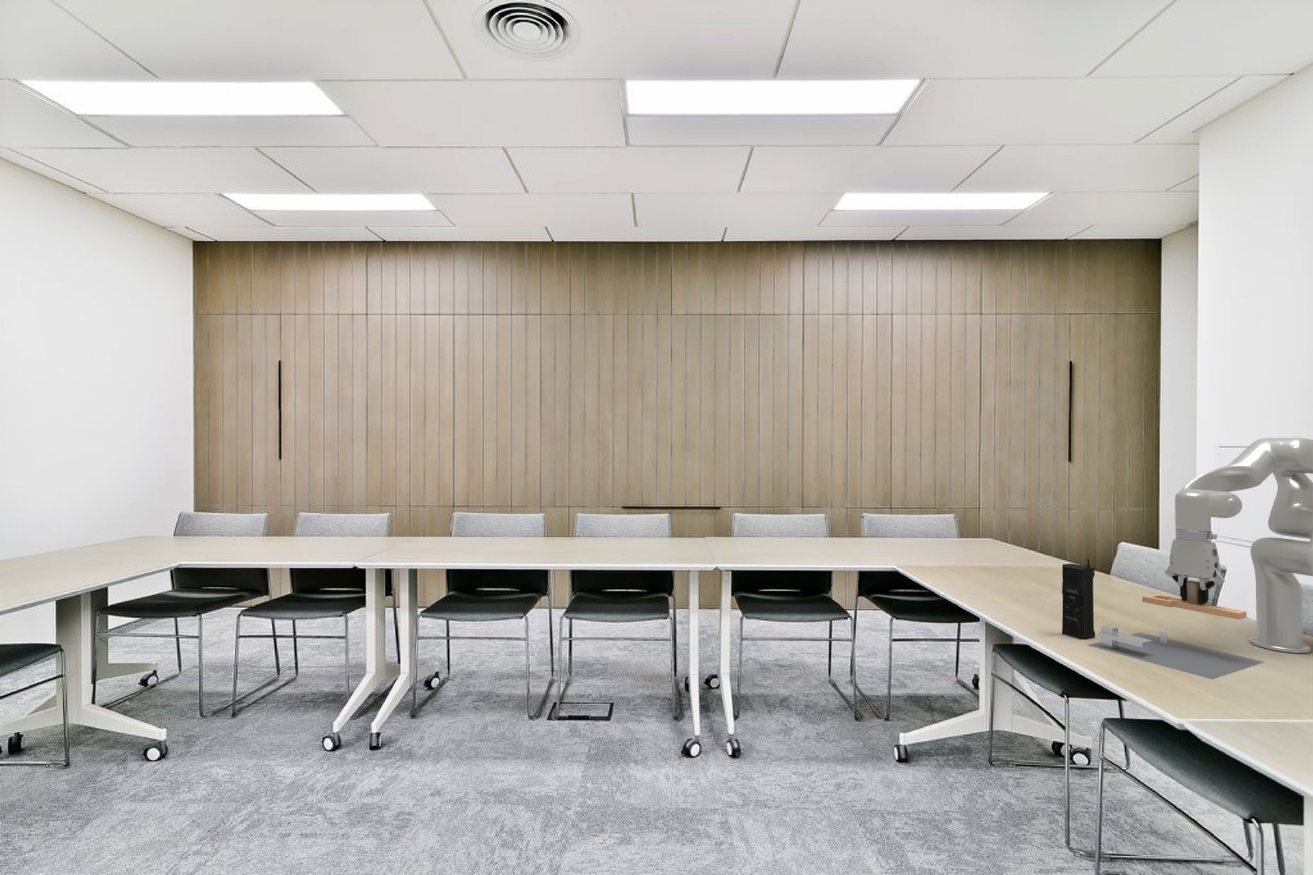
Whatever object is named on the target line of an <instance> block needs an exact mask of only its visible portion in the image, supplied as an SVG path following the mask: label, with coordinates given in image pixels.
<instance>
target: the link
mask: <svg viewBox="0 0 1313 875" xmlns="http://www.w3.org/2000/svg"><path fill="white" fill-rule="evenodd" d="M1186 588H1187V601H1182V597H1181V598H1180V597H1176V596H1169V595H1165V594H1164V595H1163V594H1158V593H1152V594H1148V595H1143V596H1142V597H1141V598H1142V599H1141V601H1142V603H1147V604H1151V605H1156V606H1162V607H1167V608H1176V609H1177V608H1178V609H1183V610H1187V611H1193V612H1198V613H1202V614H1208V615H1215V616H1220V617H1223V618H1229V619H1234V620H1243V619H1247V611H1244V610H1240V609H1233V608H1229V607H1223V606H1218V605H1213V604H1212V605H1211V604H1207V603H1206V604H1199V603H1198V590H1199V589H1200V582H1199V581H1196V580H1188V581H1186Z"/></svg>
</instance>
